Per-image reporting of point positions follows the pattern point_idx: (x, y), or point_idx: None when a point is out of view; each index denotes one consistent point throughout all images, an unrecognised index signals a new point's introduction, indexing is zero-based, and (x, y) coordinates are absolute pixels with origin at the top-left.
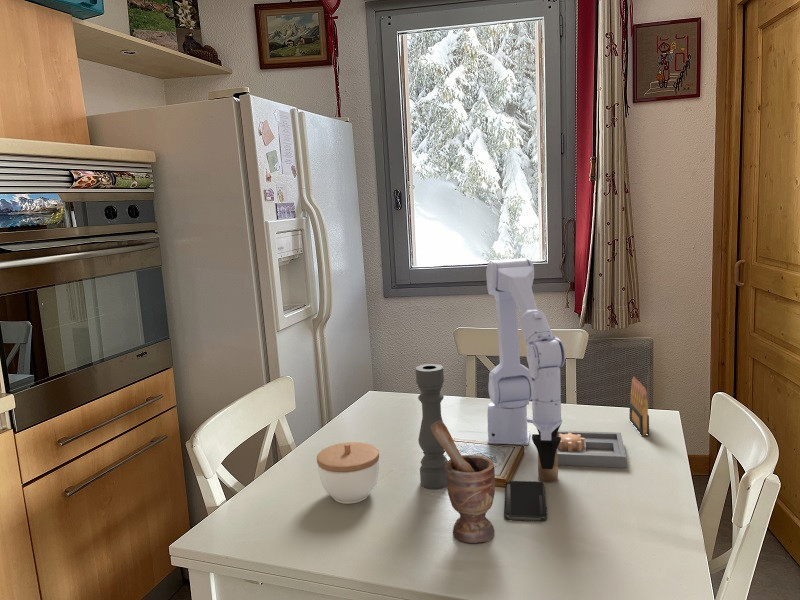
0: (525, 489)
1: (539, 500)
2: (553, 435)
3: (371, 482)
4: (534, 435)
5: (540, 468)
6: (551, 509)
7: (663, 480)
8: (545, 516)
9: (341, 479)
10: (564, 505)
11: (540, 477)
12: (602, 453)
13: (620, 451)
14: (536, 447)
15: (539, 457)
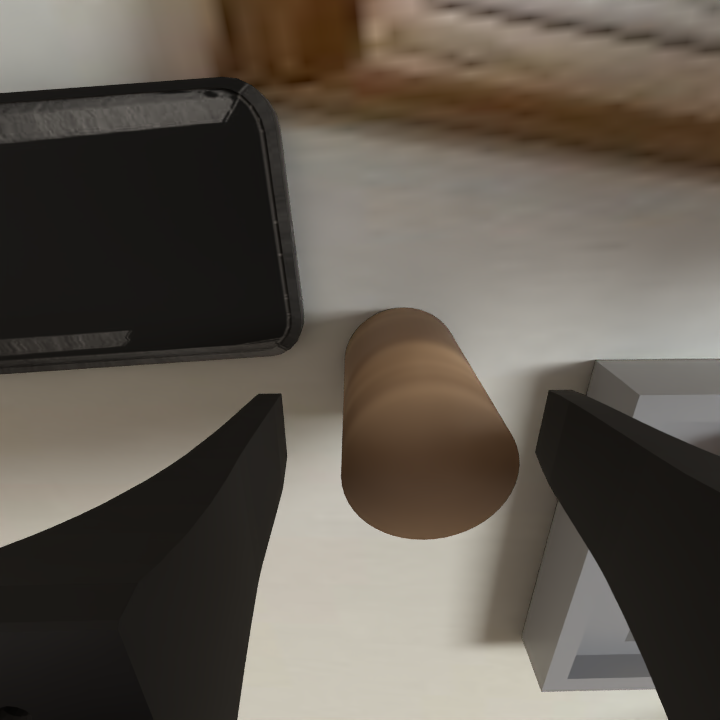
0: (176, 243)
1: (57, 335)
2: (630, 592)
3: None
4: (48, 662)
5: (363, 357)
6: (29, 388)
7: (415, 708)
8: None
9: None
10: (100, 442)
11: (363, 329)
12: None
13: (605, 678)
14: (86, 514)
15: (209, 437)
